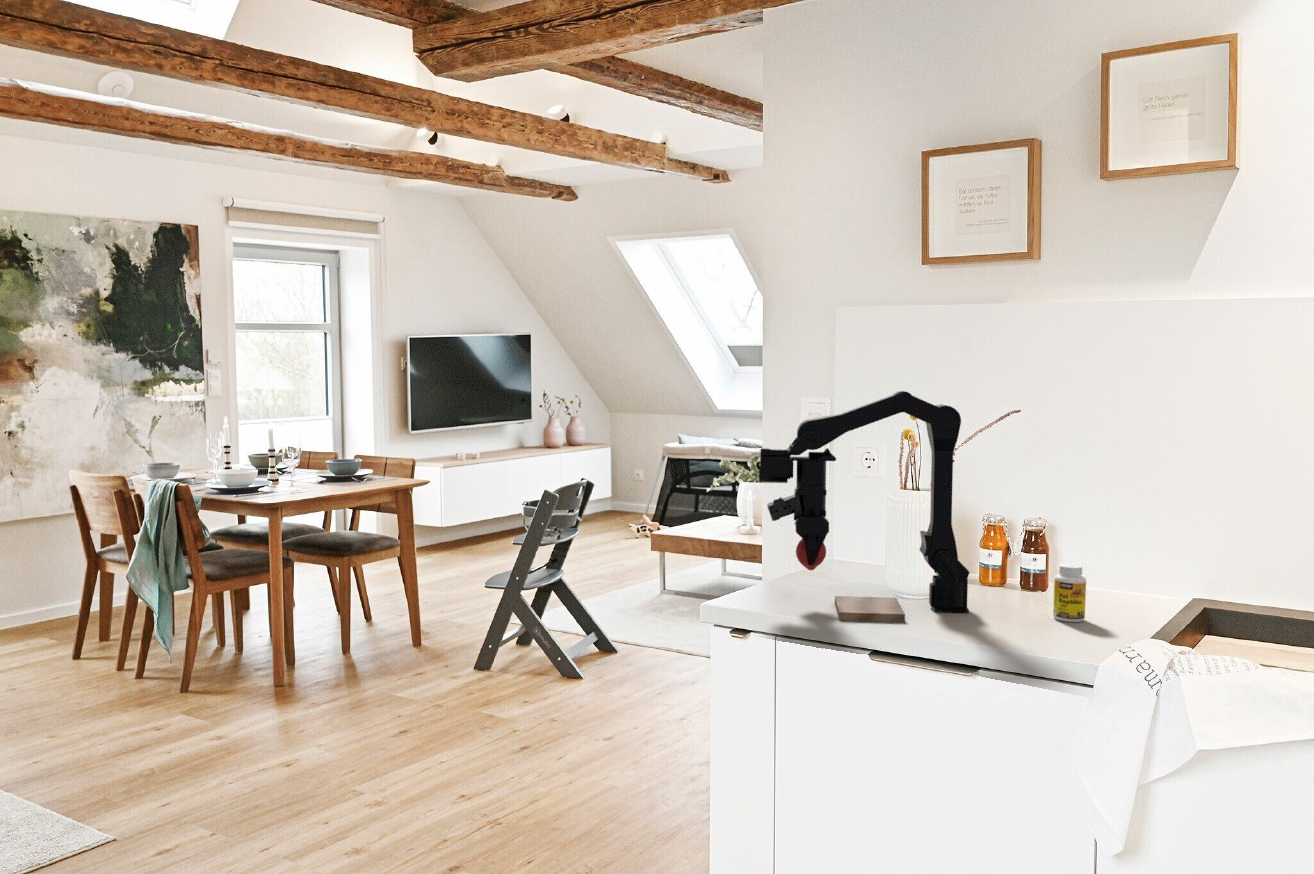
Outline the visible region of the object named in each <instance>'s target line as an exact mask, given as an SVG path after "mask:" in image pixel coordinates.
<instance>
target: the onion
mask: <svg viewBox="0 0 1314 874" xmlns="http://www.w3.org/2000/svg"><path fill="white" fill-rule="evenodd" d="M795 554H796V558H797V560H798V562H800V563H799V564H801V565H802V566H803V567H804V568H806V570H808V571H814V570H815V569H816V568H818V566H820V565H821V564H822V563H823V562H824V561H825V558H826V557H827V548H826V545H825V543H824V542H823V544H822V547H821V549H820V551H819V553H818V556H817V558H816V561H815V563H814V565H808V562H807V557H806V551H805V545H804V540H803V539H802V538H801V539H800V540H799V542H798V543H797V545H796V548H795Z"/></svg>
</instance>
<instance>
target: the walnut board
mask: <svg viewBox="0 0 1314 874" xmlns="http://www.w3.org/2000/svg"><path fill="white" fill-rule="evenodd" d="M834 606H835V610H836V613H837V617H838V621H847V622H848V621H850V622H851V621H853V622H854V621H855V622H886V623H888V622H889V623H895V622H896V623H905V621H906V613H905V611H904V609H903V608H902V606H901V603H899V601H898V599H897V597H890V596H889V597H887V596H886V597H885V596H882V597H881V596H852V595H849V596H846V595H844V596H843V595H834Z"/></svg>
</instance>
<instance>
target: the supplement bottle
mask: <svg viewBox="0 0 1314 874" xmlns="http://www.w3.org/2000/svg"><path fill="white" fill-rule="evenodd" d="M1058 573H1059V574H1056V575H1055V576H1054V585H1053V589H1054V590H1053V608H1052V609H1053V610H1052V611H1053V612H1052V613H1053V618H1054V619H1055V620H1056V621H1061V622H1064V623H1065V622H1066V623H1080V622H1083V621H1084V620H1085V617H1086V615H1085V614H1086V598H1087V596H1086V594H1087V578H1086V577H1085V576H1084V575H1083V566H1081V565H1079V564H1074V563H1073V564H1072V563H1062V564H1059V569H1058Z"/></svg>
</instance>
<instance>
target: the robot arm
mask: <svg viewBox="0 0 1314 874" xmlns="http://www.w3.org/2000/svg"><path fill="white" fill-rule="evenodd" d="M901 413H905V414H908V415H909V416H912V417H914V418H915V419H917V420H921V421H923V422H925V424H926V432H927V437H928V442H929V445H930V449H931V450H930V451H931V463H930V465H931V470H930V471H931V472H930V475H931V477H930V480H931V481H930V517H929V518H930V521H929V525H928V529H927V531H925V530H920V531H919V532H920V540H921V543H920V547H919V552H920V553H921V554H922V555H923V556H922V557H923V558H924V560H925V562H926V563H927V564H928V566H929V567H930V568H931V569H932V570H933V572H934V573H935V574H933V575H932V582H930V583H929V584H928V585H929V589H928V593H929V594H928V597H929V598H928V604H929V606H930V607H931V608H932V610H933V611H934V612H946V613H947V612H950V613H952V612H954V613H969V612H970V609H969V608H968V588H969V585H968V584H969V580H968V579H969V575H970V570H969V569H967V568H966V566H964V565H963V563H962V562H961V561H960V560H959V555H958V548H957V542H956V538H955V534H954V530H953V525H952V524H953V522H952V521H953V520H952V519H953V518H952V517H953V481H954V480H953V478H954V477H953V475H954V473H953V471H954V468H953V467H954V451H955V448H956V445H957V443H958V442H957V441H958V439H959V434H960V430H961V429H960V428H961V424H962V418H961V415H960V412H959V411H958V410H957V409H956V408H955V407H953V406H950V405H946V404H936V405H935V404H933V403H931V402H928V401H925V400H923V399H921V398H919V397H917V396H915V395H912V394H911V393H910V392H908V391H905V390H899V391H896V392H895V393H893V394H891V395H889V396H886V397H882V398H879V399H877V400H875V401H872V402H869V403H866V404H864V405H860V406H859V407H855V408H852V409H850V410H847V411H844V412H842V413H837V414H832V415H831V414H830V415H825V416H819V417H813V418H809V419H805V420H804V421H802V422H800V423H799V425H798V427H797V430H796V438H795V439H794V440H793V441H792V442H791V443H790V444H789V446H788V448H787V449H783V448H782V449H781V448H779V449H777V448H768V447H762V448H760V456H759V457H760V458H759V459H760V462H759V463H758V464H759V467H758V470H759V471H758V479H759V480H758V482H759V483H760V484H761V483H764V484H765V483H766V484H768V483H769V484H770V483H771V484H772V483H773V484H788V480H791V479H793V478H794V462H796V487H795V488H794V494H792V495H788V496H786V497H779V498H777V499H773V501H771V502H769V503H767V505H766V506H767V510H768V512H769V515H770V518H771V521H773V522H775V521H778V520H780V519H782V518H785V517H786V516H787V517H788V516H791V515H793V521H794V526H795V533H796V534H797V535H798V536H799V537H800V538H801V539H803V540H804V545H805V551H806V557H807V562H808V565H814V563H815V561H816V558H817V556H818V553H819V551H820V549H821V547H822V544H823V543H824V542H825V539H826V538H827V536H828V533H830V522H829V519H827V518H826V517H827V510H826V507H827V506H826V504H827V503H826V501H827V500H826V498H827V497H826V496H827V489H826V488H827V462H836V461H837V457H836V456H835V455H833V454H832V452H831V450H830V449H829V448H828V447H827V448H825V450H823V451H816V450H819V449H821V448H823V447H824V446H826V445H828V444H830V443H832V442H833V441H834V440H835V441H836V439H838V438H839V437H842V436H843V435H845V434H846V433H847V432H848V433H849V432H850V431H851V432H852V431H854V430H856V429H859V428H862V427H865V426H867V425H870V424H873V423H876V422H879V421H881V420H884V419H887V418H890V417H893V416H896V415H898V414H901ZM806 451H808V454H807V456H800V455H802V454H803V453H805V452H806Z"/></svg>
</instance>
